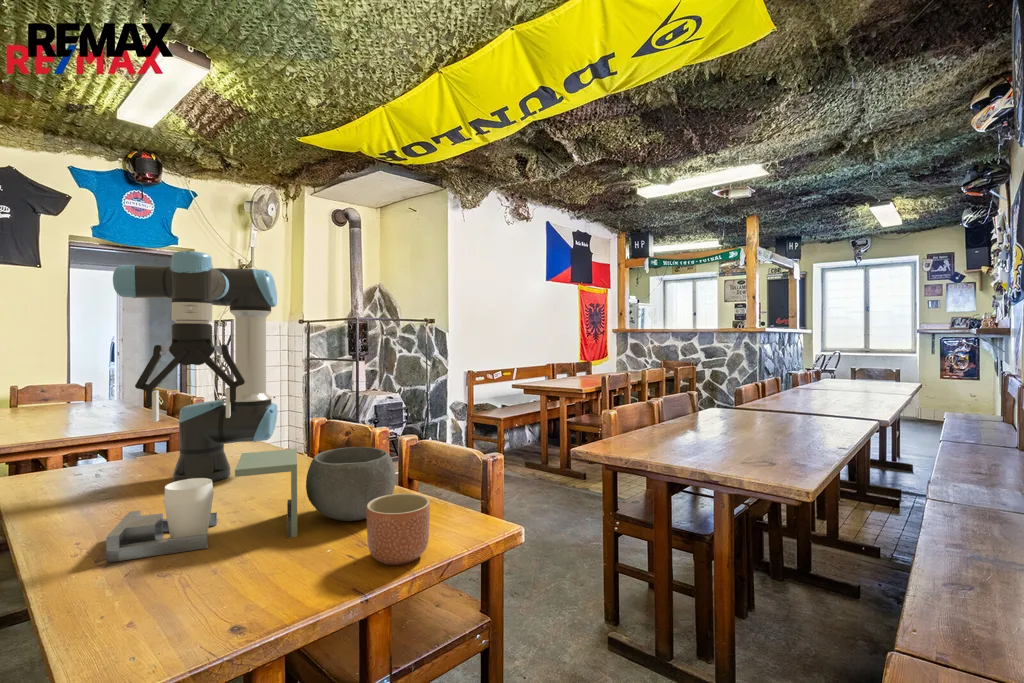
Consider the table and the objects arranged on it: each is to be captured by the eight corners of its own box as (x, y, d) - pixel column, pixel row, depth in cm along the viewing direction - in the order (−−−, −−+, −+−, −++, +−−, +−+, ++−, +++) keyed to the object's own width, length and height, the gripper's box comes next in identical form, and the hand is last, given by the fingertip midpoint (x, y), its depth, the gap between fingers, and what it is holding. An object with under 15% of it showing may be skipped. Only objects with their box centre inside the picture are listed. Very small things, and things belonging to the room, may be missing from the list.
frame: (129, 534, 111) (129, 511, 111) (217, 522, 118) (216, 501, 118) (106, 562, 97) (106, 537, 97) (207, 548, 104) (206, 524, 104)
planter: (352, 565, 97) (352, 509, 97) (390, 540, 109) (390, 490, 108) (408, 576, 93) (408, 517, 92) (441, 549, 104) (441, 497, 104)
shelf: (242, 519, 120) (241, 453, 120) (296, 512, 125) (296, 448, 125) (235, 545, 106) (234, 469, 105) (297, 536, 111) (297, 464, 110)
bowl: (291, 515, 123) (290, 454, 123) (367, 495, 139) (367, 441, 138) (333, 539, 109) (332, 470, 109) (412, 514, 124) (412, 454, 124)
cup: (190, 549, 104) (189, 491, 104) (153, 545, 106) (152, 488, 106) (223, 532, 113) (222, 479, 113) (189, 529, 115) (188, 476, 114)
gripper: (117, 321, 102) (118, 426, 102) (255, 323, 112) (255, 417, 113) (126, 322, 108) (127, 420, 109) (256, 323, 119) (256, 413, 119)
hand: (192, 419), depth 111 cm, fingers open, 13 cm apart
